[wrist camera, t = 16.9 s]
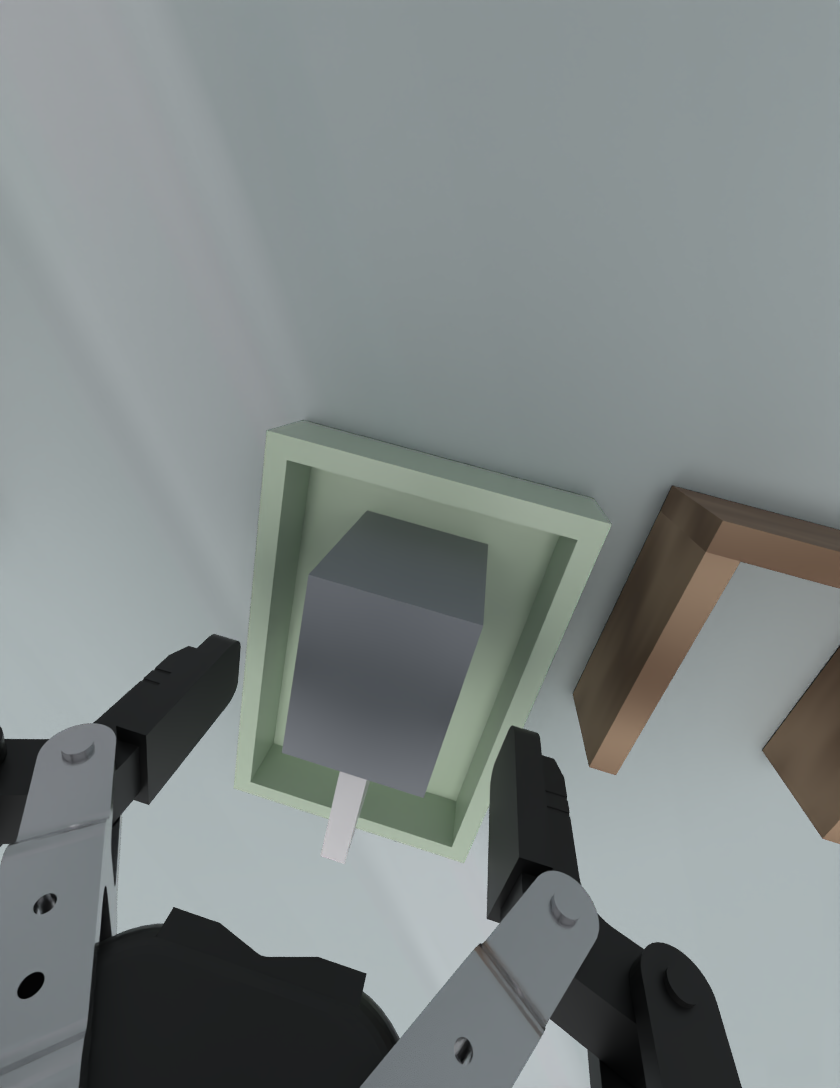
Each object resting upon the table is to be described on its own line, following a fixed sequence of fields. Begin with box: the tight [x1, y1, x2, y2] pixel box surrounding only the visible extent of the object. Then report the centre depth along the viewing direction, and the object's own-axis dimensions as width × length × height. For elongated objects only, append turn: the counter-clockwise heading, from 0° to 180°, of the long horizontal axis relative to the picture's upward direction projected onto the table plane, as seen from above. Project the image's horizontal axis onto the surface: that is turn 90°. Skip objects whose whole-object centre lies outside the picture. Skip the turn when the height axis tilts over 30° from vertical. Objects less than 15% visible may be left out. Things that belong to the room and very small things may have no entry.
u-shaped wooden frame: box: [573, 486, 840, 844], centre depth 16 cm, size 10×10×4 cm
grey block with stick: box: [282, 510, 488, 864], centre depth 17 cm, size 12×5×6 cm, turn 167°
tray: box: [234, 420, 612, 863], centre depth 19 cm, size 18×12×3 cm, turn 167°
